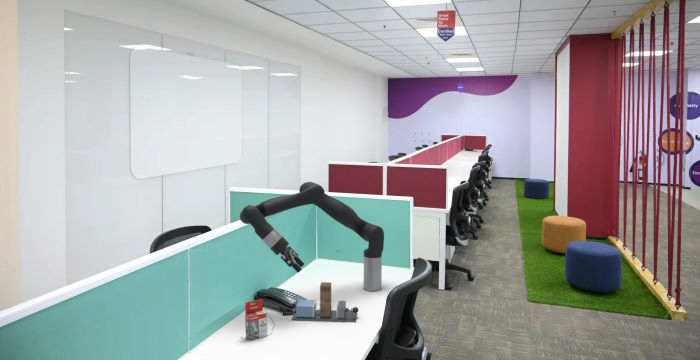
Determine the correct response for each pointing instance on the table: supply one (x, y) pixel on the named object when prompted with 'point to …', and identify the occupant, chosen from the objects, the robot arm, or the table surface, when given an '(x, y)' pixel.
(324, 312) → the walnut block
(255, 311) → the ink box
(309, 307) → the sliding jaw
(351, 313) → the vise
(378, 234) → the robot arm
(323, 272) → the table surface
